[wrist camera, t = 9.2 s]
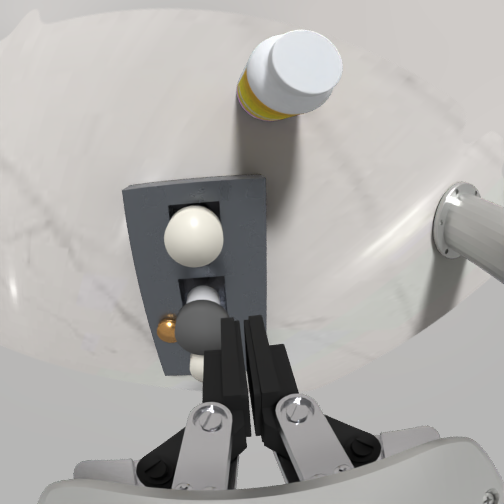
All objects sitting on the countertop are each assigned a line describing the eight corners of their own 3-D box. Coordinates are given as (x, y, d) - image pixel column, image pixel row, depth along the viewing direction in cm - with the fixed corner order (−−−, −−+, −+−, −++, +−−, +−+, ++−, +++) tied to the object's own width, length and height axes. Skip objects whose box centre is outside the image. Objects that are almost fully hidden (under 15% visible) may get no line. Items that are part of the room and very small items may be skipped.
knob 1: (219, 194, 28) (221, 208, 23) (222, 241, 31) (225, 265, 25) (170, 199, 28) (160, 213, 22) (175, 245, 30) (168, 269, 24)
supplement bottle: (283, 132, 27) (334, 129, 15) (225, 106, 25) (236, 81, 14) (307, 80, 25) (368, 51, 13) (252, 54, 23) (280, 1, 12)
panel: (130, 185, 27) (118, 192, 23) (260, 174, 29) (267, 179, 25) (167, 360, 37) (164, 380, 33) (262, 353, 39) (267, 373, 35)
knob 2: (228, 320, 35) (232, 352, 29) (231, 350, 37) (235, 381, 31) (188, 323, 34) (186, 355, 29) (194, 352, 36) (193, 384, 31)
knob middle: (225, 276, 29) (229, 309, 23) (228, 317, 31) (233, 353, 25) (176, 280, 28) (169, 313, 23) (183, 320, 30) (180, 356, 25)
